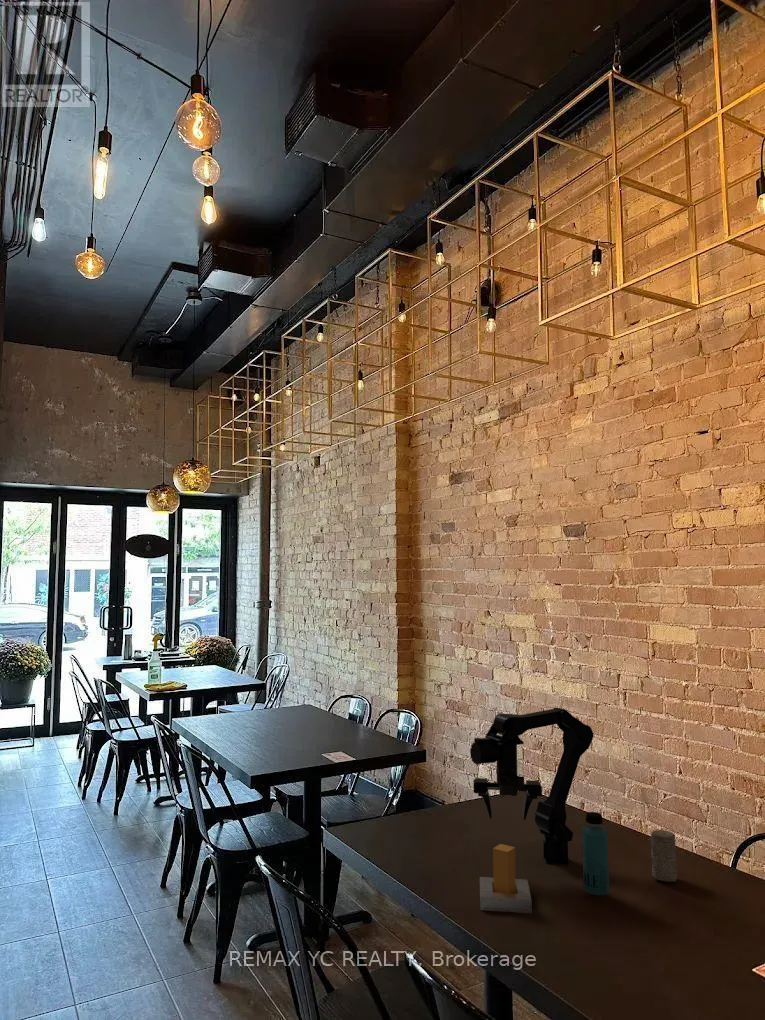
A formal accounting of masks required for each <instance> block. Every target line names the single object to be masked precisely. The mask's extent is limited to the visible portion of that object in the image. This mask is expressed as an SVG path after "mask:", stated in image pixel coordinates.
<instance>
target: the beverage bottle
mask: <svg viewBox="0 0 765 1020" xmlns="http://www.w3.org/2000/svg"><path fill="white" fill-rule="evenodd" d="M585 822H586V824H587V823H588V825H586V826H584V827H583V828H582V829H581V835H582V837H581V843H582V844H581V847H582V848H581V853H582V855H581V856H582V863H581V864H582V886H583V889H584V891H585V892H587V893H589V894H592V895H597V896H603V895H607V894H608V893H609V891H610V878H609V877H610V874H609V857H608V856H609V854H608V832H607V830H606V829H605V828H604V827H603V826H601V825H602V824H603V822H604V820H603V815H602V813H599V812H595V811H589V812H586V813H585Z"/></svg>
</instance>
